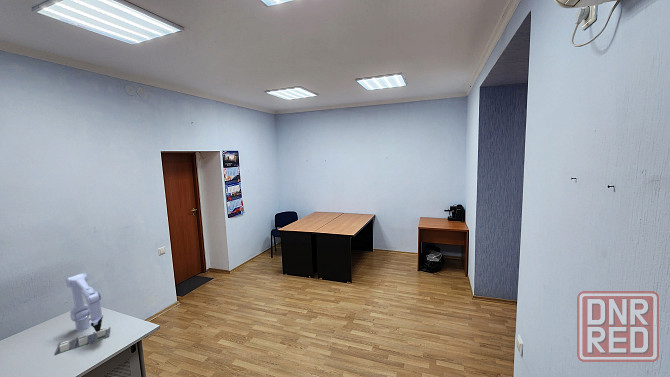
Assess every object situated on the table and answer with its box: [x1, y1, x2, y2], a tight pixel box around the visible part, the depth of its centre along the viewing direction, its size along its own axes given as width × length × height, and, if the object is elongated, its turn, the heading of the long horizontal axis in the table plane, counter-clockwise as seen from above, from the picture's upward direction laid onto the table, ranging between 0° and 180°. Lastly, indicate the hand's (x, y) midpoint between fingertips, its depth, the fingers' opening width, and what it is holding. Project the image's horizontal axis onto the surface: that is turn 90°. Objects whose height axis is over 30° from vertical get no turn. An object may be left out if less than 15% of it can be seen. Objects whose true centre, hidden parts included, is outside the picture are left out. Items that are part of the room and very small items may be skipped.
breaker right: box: [59, 340, 70, 352], centre depth 177 cm, size 4×4×4 cm
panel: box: [54, 326, 111, 356], centre depth 185 cm, size 12×27×2 cm, turn 126°
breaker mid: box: [78, 334, 88, 347], centre depth 182 cm, size 4×4×4 cm
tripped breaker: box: [96, 326, 106, 337], centre depth 190 cm, size 4×4×4 cm
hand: (98, 329), depth 183 cm, fingers open, 4 cm apart
